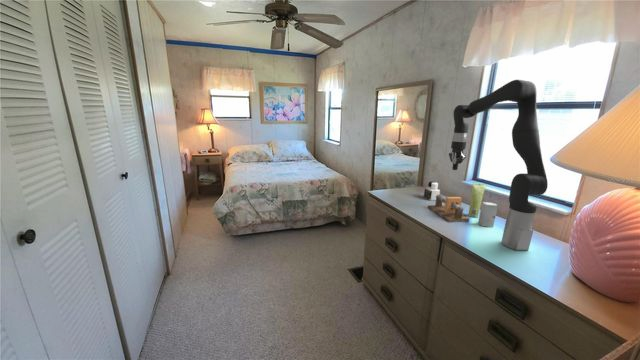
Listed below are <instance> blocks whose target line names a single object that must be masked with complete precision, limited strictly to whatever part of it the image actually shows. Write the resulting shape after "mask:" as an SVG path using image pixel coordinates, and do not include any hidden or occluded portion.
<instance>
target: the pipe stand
mask: <svg viewBox="0 0 640 360" xmlns="http://www.w3.org/2000/svg"><path fill="white" fill-rule="evenodd" d="M445 202H446V197H444V196H443V195H441V194H440V195H437V196H436V200H435V204H433V205H432V204H431V205H430V204H429V205H428V206H427V208H428V209H429V210H430V211H432V212H433V213H435V214H437V215H438V216H439V217H441V218H442V219H444V220H445V221H447V222H448V223H452V222H453V223H456V222H457V223H459V222H470V218H469V217H467V216H465V215H463V211H464V207H463V206H459V205H457V204H455V203H451V208H453V209H455V212H454V213H446V212H445V211H444V209H445ZM443 203H444V204H443Z"/></svg>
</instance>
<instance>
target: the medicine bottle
mask: <svg viewBox="0 0 640 360" xmlns="http://www.w3.org/2000/svg"><path fill="white" fill-rule="evenodd" d="M438 187H439V183H438V182H436V181H428V184H427V187H425V188H424V192H423V198H424V199H426V200H428V201H436V196H437V195H441V189H438Z"/></svg>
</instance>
